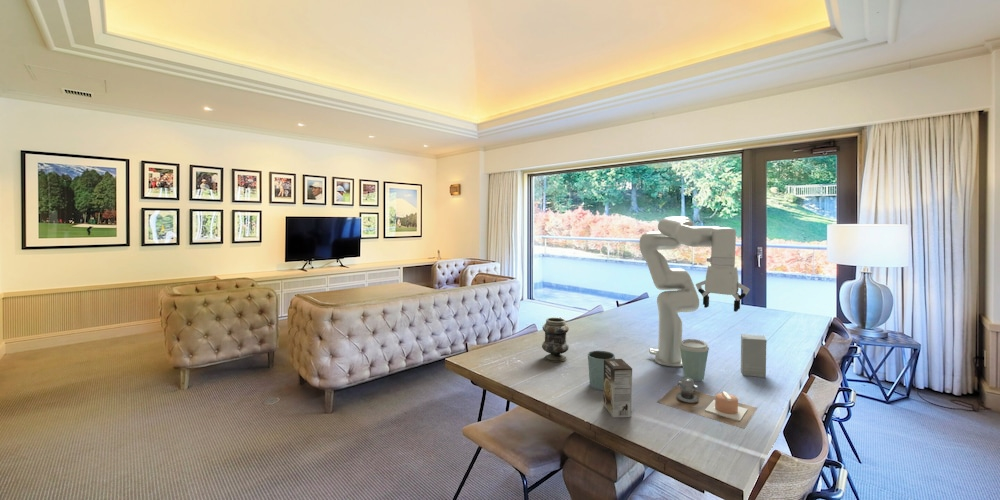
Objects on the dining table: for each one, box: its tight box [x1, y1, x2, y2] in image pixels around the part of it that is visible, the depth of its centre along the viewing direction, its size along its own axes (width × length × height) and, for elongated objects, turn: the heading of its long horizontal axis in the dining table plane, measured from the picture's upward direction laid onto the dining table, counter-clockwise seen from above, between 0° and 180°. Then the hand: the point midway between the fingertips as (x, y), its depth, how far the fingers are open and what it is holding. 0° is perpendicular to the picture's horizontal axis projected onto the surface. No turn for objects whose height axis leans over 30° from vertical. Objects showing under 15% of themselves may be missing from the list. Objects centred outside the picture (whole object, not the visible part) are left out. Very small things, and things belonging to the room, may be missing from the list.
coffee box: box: [602, 358, 633, 418], centre depth 132 cm, size 9×6×16 cm
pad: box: [705, 400, 748, 421], centre depth 130 cm, size 10×10×1 cm
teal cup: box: [587, 350, 616, 391], centre depth 152 cm, size 10×10×12 cm
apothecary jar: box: [541, 317, 570, 363], centre depth 182 cm, size 12×12×18 cm
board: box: [656, 385, 758, 430], centre depth 134 cm, size 26×18×1 cm
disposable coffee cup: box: [679, 338, 710, 382], centre depth 157 cm, size 11×11×15 cm
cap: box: [714, 391, 739, 414], centre depth 130 cm, size 6×6×5 cm
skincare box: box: [740, 333, 768, 378], centre depth 162 cm, size 8×7×16 cm
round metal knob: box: [676, 377, 699, 404], centre depth 138 cm, size 7×7×7 cm
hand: (720, 309), depth 146 cm, fingers open, 9 cm apart
